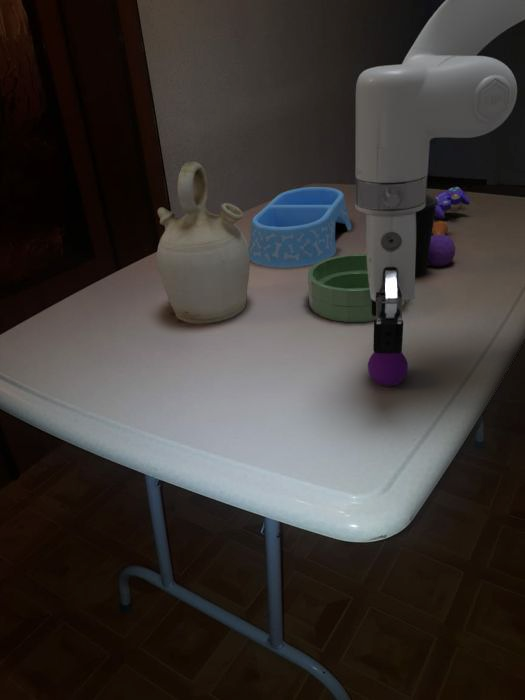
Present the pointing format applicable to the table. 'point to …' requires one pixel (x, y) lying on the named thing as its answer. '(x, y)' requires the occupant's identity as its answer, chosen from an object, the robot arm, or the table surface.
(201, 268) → the jug
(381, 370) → the ball
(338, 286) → the bowl
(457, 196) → the game controller
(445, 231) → the maraca
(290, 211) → the dog bowl
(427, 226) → the drinking cup
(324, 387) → the table surface
